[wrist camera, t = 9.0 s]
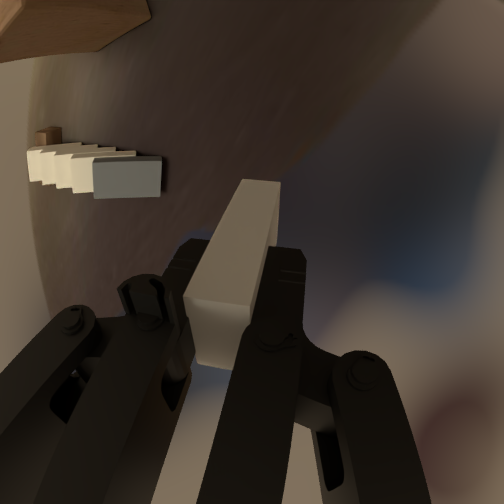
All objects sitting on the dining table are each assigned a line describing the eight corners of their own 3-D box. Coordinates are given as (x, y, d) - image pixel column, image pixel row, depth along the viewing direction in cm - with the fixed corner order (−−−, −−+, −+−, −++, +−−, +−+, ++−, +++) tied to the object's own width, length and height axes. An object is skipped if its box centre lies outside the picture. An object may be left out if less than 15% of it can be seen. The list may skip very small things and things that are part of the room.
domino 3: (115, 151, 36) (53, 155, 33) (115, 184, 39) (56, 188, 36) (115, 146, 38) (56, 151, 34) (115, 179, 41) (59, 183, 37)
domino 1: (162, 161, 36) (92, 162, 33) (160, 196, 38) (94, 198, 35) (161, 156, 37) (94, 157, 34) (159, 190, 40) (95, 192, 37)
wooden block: (153, 18, 27) (21, 6, 11) (96, 53, 31) (-28, 71, 14) (137, -36, 23) (18, -64, 6) (83, 1, 26) (-33, 2, 10)
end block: (61, 127, 38) (45, 133, 35) (63, 178, 43) (49, 186, 40) (50, 126, 38) (35, 132, 36) (53, 175, 43) (39, 183, 41)
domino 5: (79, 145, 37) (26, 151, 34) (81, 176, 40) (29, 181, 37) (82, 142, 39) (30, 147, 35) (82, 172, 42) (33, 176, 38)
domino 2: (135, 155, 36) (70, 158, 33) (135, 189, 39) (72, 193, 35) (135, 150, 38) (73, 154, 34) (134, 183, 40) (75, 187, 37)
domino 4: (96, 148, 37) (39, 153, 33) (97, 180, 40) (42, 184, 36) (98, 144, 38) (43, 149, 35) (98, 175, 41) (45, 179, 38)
